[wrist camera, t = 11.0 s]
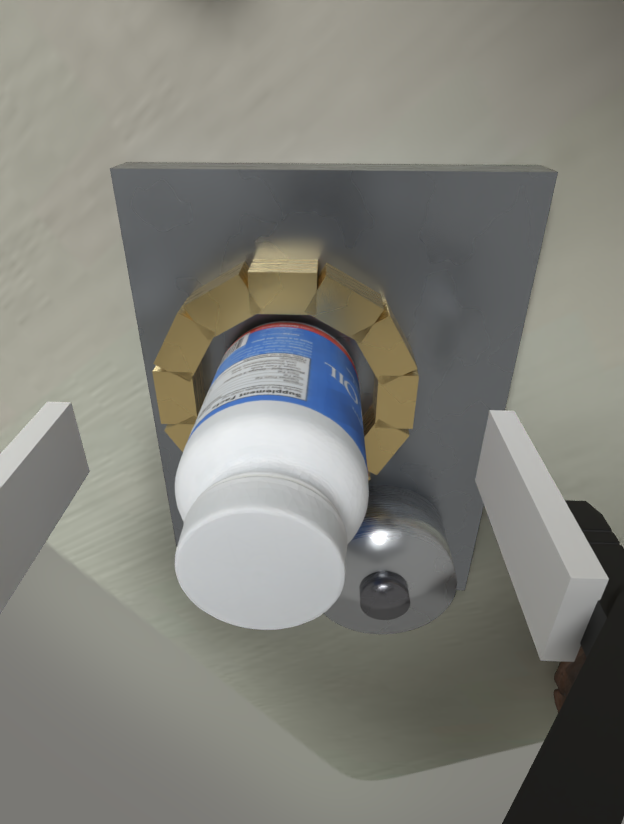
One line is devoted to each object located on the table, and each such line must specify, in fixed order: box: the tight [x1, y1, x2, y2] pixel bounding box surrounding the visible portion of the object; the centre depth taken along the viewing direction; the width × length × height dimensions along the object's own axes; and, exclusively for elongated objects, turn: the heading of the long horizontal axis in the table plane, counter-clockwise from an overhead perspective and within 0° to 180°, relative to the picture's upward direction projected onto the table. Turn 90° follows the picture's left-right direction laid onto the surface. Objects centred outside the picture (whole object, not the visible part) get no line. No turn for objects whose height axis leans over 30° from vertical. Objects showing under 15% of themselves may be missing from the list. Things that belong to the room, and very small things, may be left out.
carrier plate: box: [110, 162, 558, 634], centre depth 21 cm, size 19×14×5 cm
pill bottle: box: [175, 321, 369, 630], centre depth 17 cm, size 6×5×10 cm
